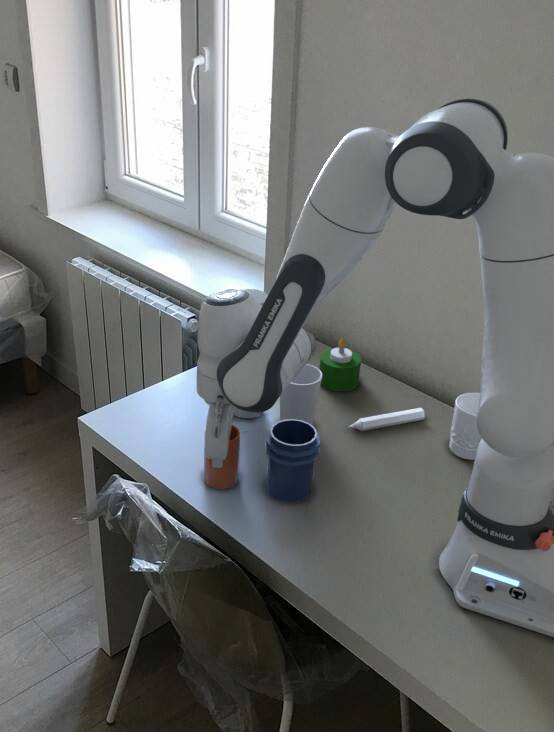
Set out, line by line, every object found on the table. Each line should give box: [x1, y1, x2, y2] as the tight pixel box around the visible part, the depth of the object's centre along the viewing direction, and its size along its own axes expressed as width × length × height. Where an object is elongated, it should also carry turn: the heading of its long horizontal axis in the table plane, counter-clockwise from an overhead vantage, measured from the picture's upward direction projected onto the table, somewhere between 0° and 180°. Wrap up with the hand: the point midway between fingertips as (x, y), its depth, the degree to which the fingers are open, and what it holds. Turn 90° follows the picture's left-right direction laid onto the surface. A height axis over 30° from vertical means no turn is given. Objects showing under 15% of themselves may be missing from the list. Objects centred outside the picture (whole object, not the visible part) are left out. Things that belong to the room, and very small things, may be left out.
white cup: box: [448, 392, 482, 461], centre depth 154 cm, size 8×8×10 cm
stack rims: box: [265, 430, 321, 466], centre depth 144 cm, size 9×9×2 cm
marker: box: [346, 407, 426, 432], centre depth 164 cm, size 3×2×16 cm
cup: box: [279, 363, 322, 426], centre depth 161 cm, size 8×8×12 cm
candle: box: [318, 338, 362, 392], centre depth 175 cm, size 8×8×10 cm
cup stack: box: [265, 419, 319, 503], centre depth 146 cm, size 8×8×12 cm
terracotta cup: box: [203, 424, 241, 490], centre depth 149 cm, size 6×6×10 cm
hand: (220, 448), depth 149 cm, fingers open, 8 cm apart
